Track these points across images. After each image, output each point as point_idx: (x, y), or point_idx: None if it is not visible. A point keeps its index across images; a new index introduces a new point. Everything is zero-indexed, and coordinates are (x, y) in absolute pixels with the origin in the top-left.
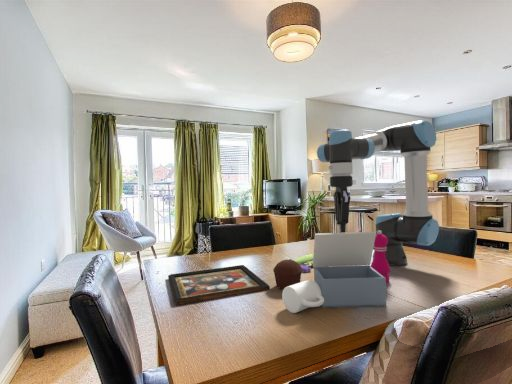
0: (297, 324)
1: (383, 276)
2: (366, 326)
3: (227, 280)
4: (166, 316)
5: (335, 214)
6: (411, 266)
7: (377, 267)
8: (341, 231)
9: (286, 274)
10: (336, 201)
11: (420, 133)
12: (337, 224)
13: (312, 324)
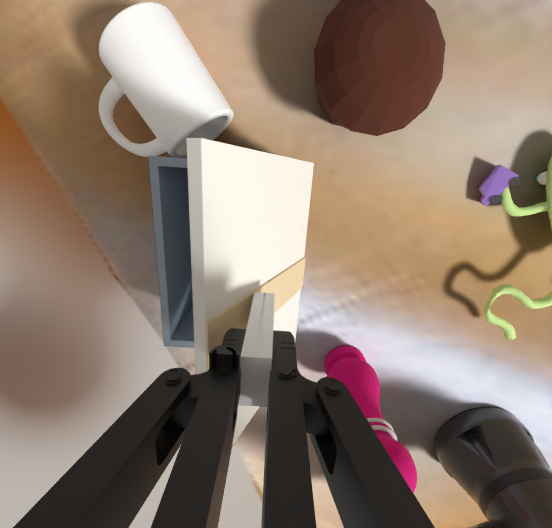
0: (85, 63)
1: (177, 346)
2: (92, 230)
3: None
4: None
5: (365, 428)
6: (417, 460)
7: (337, 377)
8: (224, 337)
9: (316, 45)
10: None
11: None
12: (222, 346)
13: (89, 107)
